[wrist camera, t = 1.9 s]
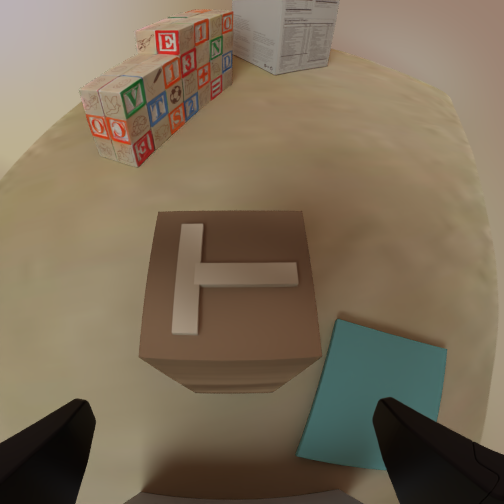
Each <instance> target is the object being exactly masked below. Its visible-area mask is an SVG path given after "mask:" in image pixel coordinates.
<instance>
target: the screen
mask: <svg viewBox="0 0 504 504" xmlns="http://www.w3.org/2000/svg"><path fill="white" fill-rule="evenodd" d="M124 504H363V503H362V502H360V501H358V500H356V499H355V498H353V497H351V496H349V495H348V494H346V493H344V492H343V491H341V490H339V489H336V490H331V491H325V492H320V493H313V494H307V495H299V496H291V497H281V498H268V499H248V500H215V499H194V498H182V497H172V496H164V495H156V494H149V493H143V492H140V493H139V494H137V495H136V496H134V497H133V498H131V499H130V500H128V501H127V502H125V503H124Z"/></svg>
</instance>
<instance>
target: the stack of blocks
mask: <svg viewBox="0 0 504 504" xmlns="http://www.w3.org/2000/svg"><path fill="white" fill-rule="evenodd" d="M135 41H136V49H137V54H136V55H134V56H133V57H130V58H129V59H127V60H125V61H124V62H122V63H120V64H118V65H116V66H114V67H113V68H111V69H109V70H108V71H106V72H104V73H103V74H101V75H100V76H99V77H97V78H95V79H94V80H92V81H91V82H89V83H87V84H86V85H85V86H83V87H82V88H81V89H79V92H80V96H81V99H82V102H83V106H84V109H85V112H86V118H87V121H88V124H89V127H90V130H91V132H92V135H93V138H94V140H95V143H96V146H97V148H98V151H99V153H100V156H103V157H106V158H109V159H112V160H116V161H119V162H121V163H124V164H128V165H131V166H134V167H139V166H140V165H141V164H142V163H143V162H144V161H145V160H146V159H147V158H148V157H149V156H150V155H151V153H152V152H154V150H156V149H158V148H159V147H160V146H161V145H162V144H163V143H164V142H165V141H166V140H167V139H168V138H169V137H170V136H171V135H172V134H173V133H175V132H176V131H177V130H178V129H179V128H180V127H181V126H182V125H184V124H185V122H186V121H187V120H189V119H190V118H191V117H192V116H193V115H194V114H195V113H197V112H198V110H200V109H201V108H202V107H203V106H205V105H206V104H207V103H208V102H209V101H211V100H212V99H214V98H215V97H216V96H217V95H219V94H220V93H221V92H222V91H224V90H225V89H227V88H228V87H229V86H230V85H232V52H233V50H232V49H233V11H227V10H191V11H188V12H185V13H178V14H175V15H172V16H169V17H168V18H166V19H163V20H160V21H158V22H155V23H153V24H151V25H148V26H146V27H143V28H141V29H139V30H136V31H135Z"/></svg>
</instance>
